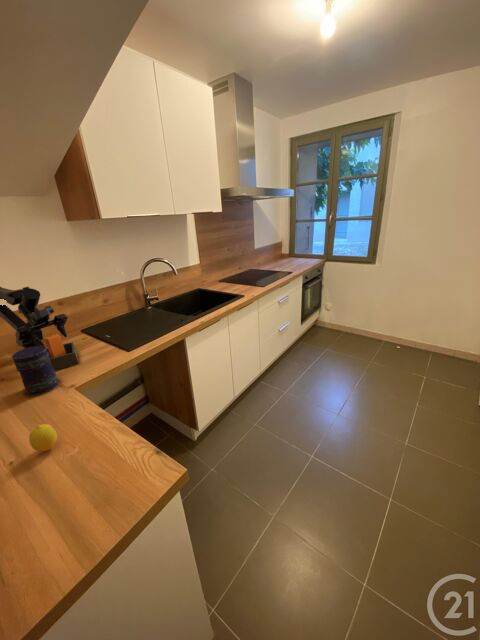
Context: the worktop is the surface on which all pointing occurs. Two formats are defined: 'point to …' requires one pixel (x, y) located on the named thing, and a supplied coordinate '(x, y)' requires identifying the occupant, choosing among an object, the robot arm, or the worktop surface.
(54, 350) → the block
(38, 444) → the lemon
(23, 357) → the storage jar
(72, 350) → the dark grey open box
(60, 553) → the worktop surface
